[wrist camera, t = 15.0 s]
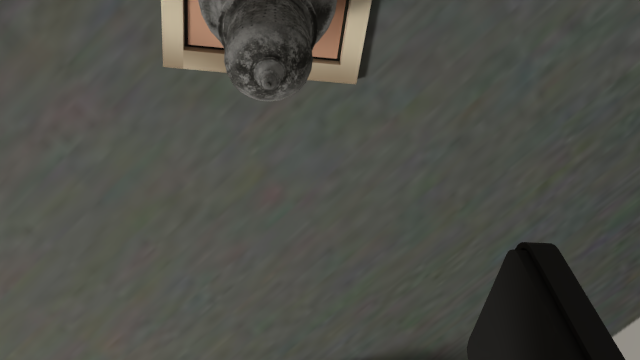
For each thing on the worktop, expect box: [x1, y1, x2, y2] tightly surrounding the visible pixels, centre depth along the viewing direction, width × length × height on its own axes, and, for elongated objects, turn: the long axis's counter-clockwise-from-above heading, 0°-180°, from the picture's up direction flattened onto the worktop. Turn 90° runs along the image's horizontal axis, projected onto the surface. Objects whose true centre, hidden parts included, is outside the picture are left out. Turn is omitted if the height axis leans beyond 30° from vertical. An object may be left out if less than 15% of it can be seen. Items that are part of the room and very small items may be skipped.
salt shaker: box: [198, 0, 337, 101], centre depth 21 cm, size 6×6×12 cm
